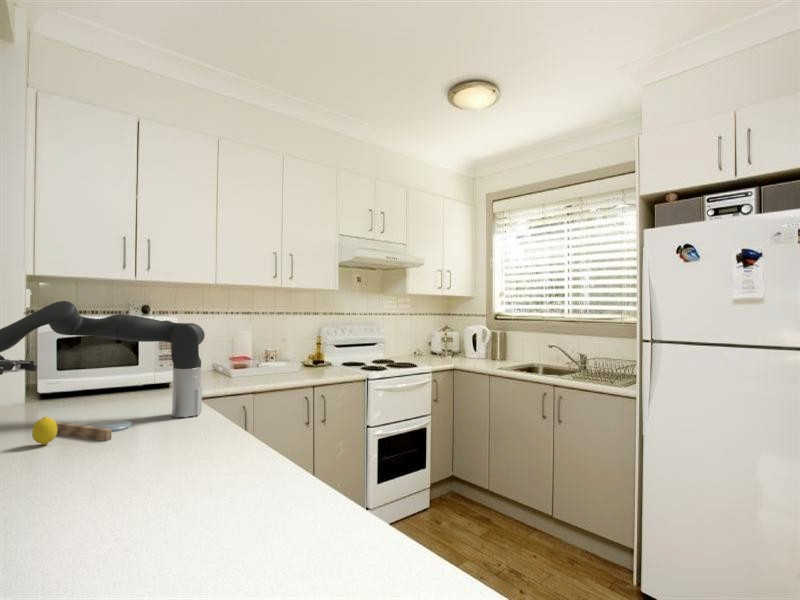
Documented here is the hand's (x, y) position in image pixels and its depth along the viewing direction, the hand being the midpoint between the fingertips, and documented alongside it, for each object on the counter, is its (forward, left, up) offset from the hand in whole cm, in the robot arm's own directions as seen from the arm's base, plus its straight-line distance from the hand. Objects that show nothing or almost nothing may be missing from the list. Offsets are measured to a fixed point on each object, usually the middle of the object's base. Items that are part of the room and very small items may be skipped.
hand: (18, 369), depth 128 cm
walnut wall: (-14, -3, -21) cm, 26 cm away
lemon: (-10, +5, -21) cm, 24 cm away
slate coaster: (-19, -12, -21) cm, 31 cm away
